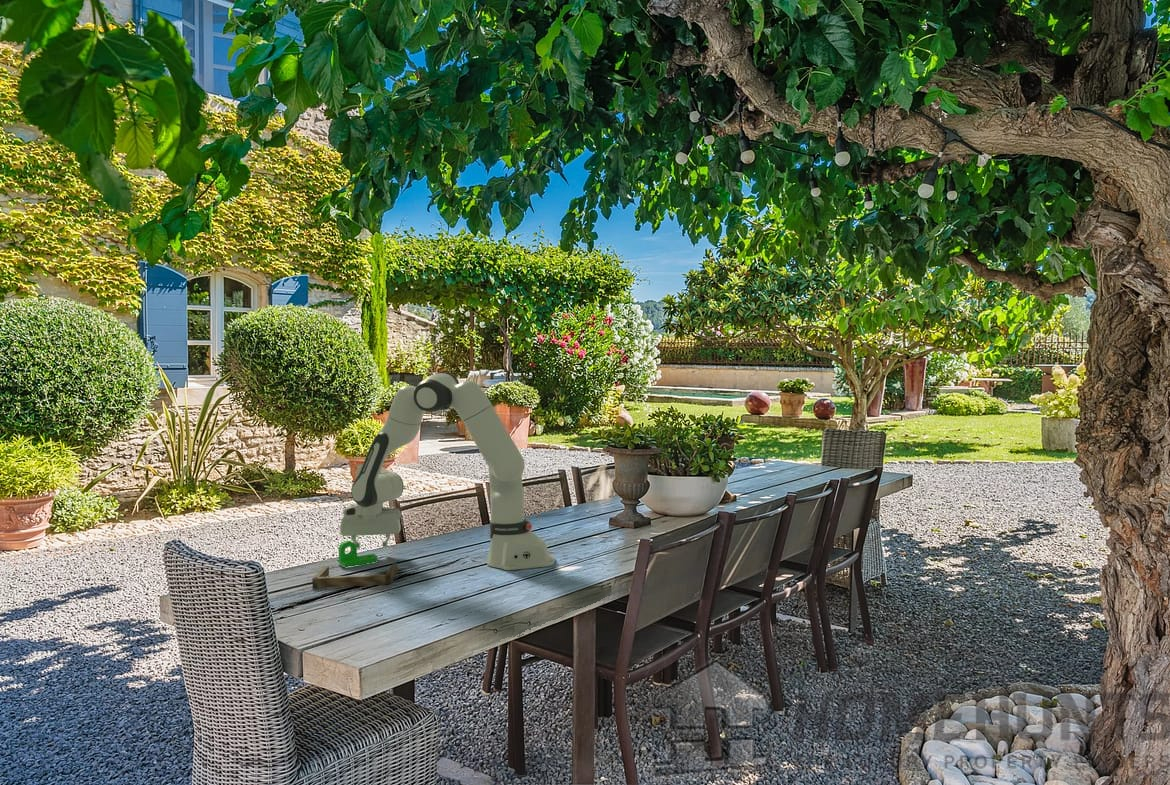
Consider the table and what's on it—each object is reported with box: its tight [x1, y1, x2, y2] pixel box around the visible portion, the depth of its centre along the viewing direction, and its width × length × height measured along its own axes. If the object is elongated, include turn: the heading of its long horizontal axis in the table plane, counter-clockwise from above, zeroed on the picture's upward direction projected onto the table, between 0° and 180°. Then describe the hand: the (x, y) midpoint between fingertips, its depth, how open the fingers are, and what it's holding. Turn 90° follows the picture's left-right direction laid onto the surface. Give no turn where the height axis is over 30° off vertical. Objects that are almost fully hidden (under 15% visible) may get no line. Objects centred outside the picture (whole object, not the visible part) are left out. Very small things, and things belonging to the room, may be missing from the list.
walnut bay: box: [311, 562, 399, 589], centre depth 235 cm, size 23×14×3 cm, turn 95°
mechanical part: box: [338, 540, 379, 567], centre depth 255 cm, size 12×6×8 cm, turn 128°
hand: (371, 547), depth 264 cm, fingers open, 8 cm apart
